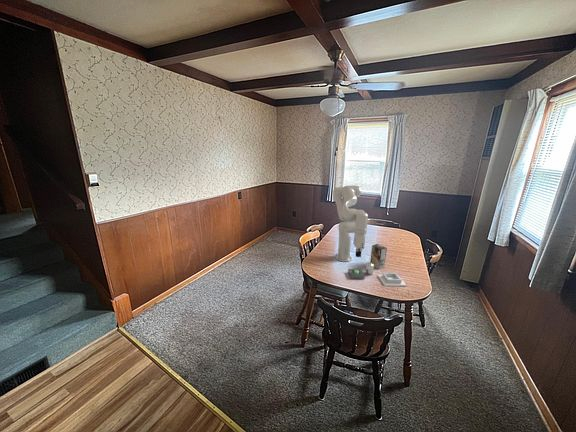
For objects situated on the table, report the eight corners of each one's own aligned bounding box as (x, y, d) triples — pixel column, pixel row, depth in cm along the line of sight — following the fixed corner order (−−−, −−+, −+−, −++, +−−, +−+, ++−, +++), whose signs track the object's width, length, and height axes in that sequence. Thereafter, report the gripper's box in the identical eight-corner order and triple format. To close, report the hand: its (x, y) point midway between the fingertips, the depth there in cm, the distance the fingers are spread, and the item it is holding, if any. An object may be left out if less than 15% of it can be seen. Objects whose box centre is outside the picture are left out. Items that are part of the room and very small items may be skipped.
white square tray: (377, 276, 159) (378, 271, 158) (397, 276, 159) (398, 271, 158) (384, 286, 147) (384, 281, 146) (405, 286, 147) (406, 281, 146)
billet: (364, 272, 164) (365, 262, 162) (371, 272, 164) (372, 262, 162) (366, 275, 159) (367, 265, 157) (373, 275, 159) (374, 265, 157)
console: (348, 272, 163) (348, 268, 163) (360, 272, 163) (361, 269, 162) (351, 279, 155) (351, 275, 154) (364, 279, 155) (364, 275, 154)
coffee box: (385, 267, 171) (387, 247, 166) (379, 269, 168) (381, 249, 163) (375, 262, 178) (377, 243, 174) (369, 264, 175) (371, 245, 171)
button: (352, 274, 161) (353, 269, 160) (357, 274, 161) (358, 269, 160) (354, 276, 157) (354, 272, 156) (359, 277, 157) (359, 272, 156)
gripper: (351, 227, 157) (349, 251, 162) (357, 234, 143) (355, 261, 147) (362, 227, 157) (360, 252, 162) (369, 234, 143) (367, 261, 147)
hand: (358, 256), depth 155 cm, fingers closed
